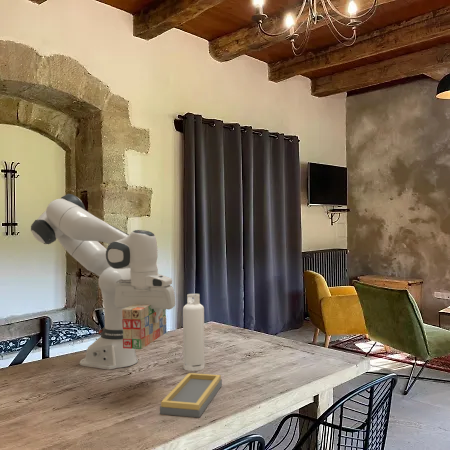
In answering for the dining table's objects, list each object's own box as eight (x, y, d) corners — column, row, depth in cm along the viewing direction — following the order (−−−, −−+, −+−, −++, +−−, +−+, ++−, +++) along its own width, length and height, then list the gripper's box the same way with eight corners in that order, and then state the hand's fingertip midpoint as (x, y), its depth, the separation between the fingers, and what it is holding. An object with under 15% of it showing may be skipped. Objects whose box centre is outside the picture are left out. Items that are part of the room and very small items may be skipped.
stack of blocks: (150, 332, 165) (149, 297, 165) (166, 333, 163) (166, 297, 163) (122, 348, 144) (121, 308, 144) (141, 349, 143) (140, 309, 143)
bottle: (179, 369, 177) (178, 295, 177) (189, 363, 185) (189, 292, 184) (198, 372, 174) (197, 296, 174) (208, 365, 181) (207, 293, 181)
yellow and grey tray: (159, 414, 136) (159, 402, 136) (188, 382, 162) (188, 372, 162) (199, 417, 133) (199, 405, 133) (221, 385, 160) (221, 374, 160)
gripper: (110, 280, 152) (111, 322, 153) (169, 281, 148) (170, 325, 148) (119, 278, 159) (120, 318, 159) (176, 279, 154) (177, 321, 154)
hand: (144, 322), depth 153 cm, fingers closed on stack of blocks, 6 cm apart
